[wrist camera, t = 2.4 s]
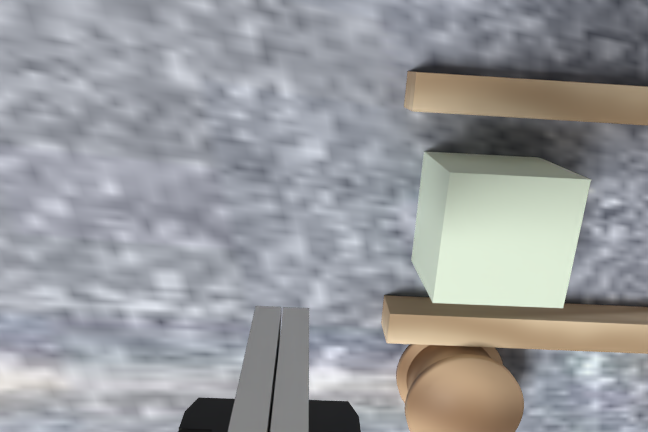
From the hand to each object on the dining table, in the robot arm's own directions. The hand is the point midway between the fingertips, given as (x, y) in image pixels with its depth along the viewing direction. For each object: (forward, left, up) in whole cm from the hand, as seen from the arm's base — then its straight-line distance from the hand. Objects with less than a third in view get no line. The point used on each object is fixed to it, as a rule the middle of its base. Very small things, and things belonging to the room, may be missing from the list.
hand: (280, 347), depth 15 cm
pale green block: (0, +11, -17) cm, 20 cm away
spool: (+12, +11, -16) cm, 23 cm away
